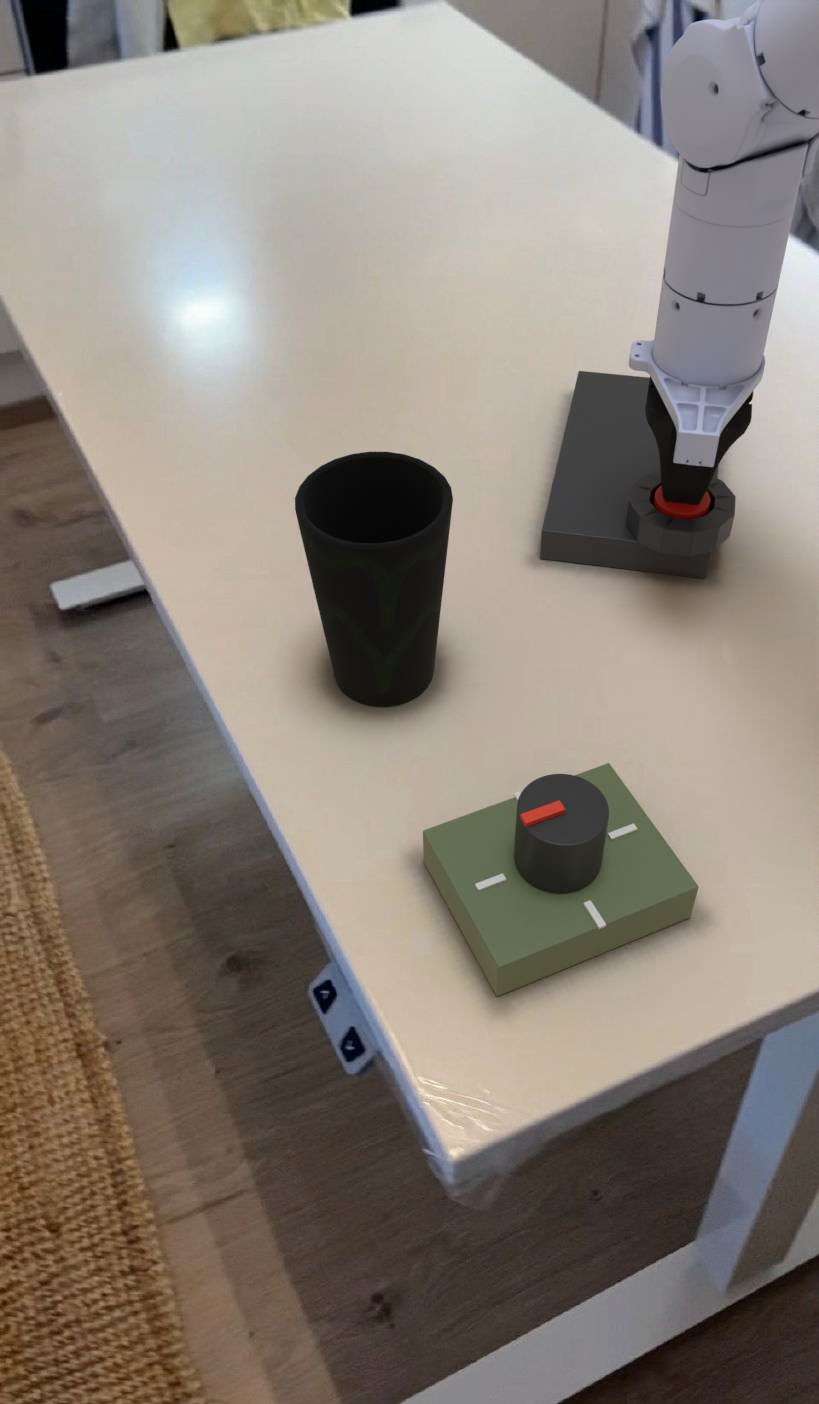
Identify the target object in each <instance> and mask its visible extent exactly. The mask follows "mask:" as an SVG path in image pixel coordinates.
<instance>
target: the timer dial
mask: <svg viewBox="0 0 819 1404" xmlns="http://www.w3.org/2000/svg"><path fill="white" fill-rule="evenodd" d="M574 775H575V774H570V773H569V774H568V773H552V774H546V775H543V776H540V777H538V778H536V779H534V780H532V781H530V783H529V784H527V785H526V786H525V787H524V788H523V789H522V791H521V794H520V796H519V799H518V802H517V813H516V828H515V843H514V861H515V864H516V867H517V869H518V871H519V872H520V874H521V875H522V876H523V878H524V879H525V880H526V881H528V882H529V883H530V884H532V885H533V886H535V887H537V888H539V889H541V890H544V891H548V892H553V893H569V892H574V891H577V890H580V889H582V888H584V887H585V886H587V885H588V884H590V883H591V882H592V881H593V880H594V879H595V878H596V876H597V875H598V873H599V871H600V868H601V865H602V858H603V852H604V846H605V839H606V833H607V827H608V820H609V806H608V803H607V800H606V798H605V797H604V795H603V794H602V792H601V791H600V790H599V789H598V788H597V787H596V786H595V785H593V784H592V783H591V782H589V781H587V780H585V779H583V778H581V777H578V776H574Z"/></svg>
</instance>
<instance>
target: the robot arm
mask: <svg viewBox="0 0 819 1404" xmlns="http://www.w3.org/2000/svg"><path fill="white" fill-rule="evenodd" d="M660 83H661V84H660V107H661V114H662V119H663V123H664V127H665V129H666V132H667V136H668V137H669V140H670V142H671V143H672V145H673V148H675V150H676V152H677V153H678V163H677V170H676V177H675V185H674V194H673V198H672V199H673V200H672V206H671V213H670V220H669V227H668V235H667V243H666V249H665V257H664V264H663V272H662V278H661V279H662V280H661V287H660V294H659V302H658V309H657V316H656V324H655V328H654V337H653V340H642V339H641V340H635V341H633V342H632V343H631V346H630V352H629V358H628V367H629V368H630V369H631V370H633V371H637V372H645V373H647V374H648V375H649V378H650V380H649V387H648V393H647V399H646V406H645V414H646V418H647V422H648V424H649V426H650V428H651V430H652V432H653V434H654V436H655V439H656V442H657V446H658V450H659V457H660V472H661V487H662V494H663V498H664V501H666V502H674V503H683V504H692V505H698V504H699V503H700V502H701V500H702V498H703V497H704V495H705V493H706V491H707V489H708V487H709V485H710V482H711V480H712V478H713V476H714V473H715V471H716V469H717V467H718V468H719V466H718V465H720V463H721V462H722V459H723V458H724V456H725V455H726V453H727V452H728V451H729V449H730V448H731V447H732V446H733V445H734V444H735V442H736V441H737V440H739V439H740V438H741V437H742V436H743V435H744V434H745V433H746V431H747V430H748V428H749V426H750V425H751V422H752V417H753V404H752V403H751V402H752V401H753V398H754V391H755V390H756V388H757V387H758V385H759V384H760V383H761V381H762V379H763V377H764V371H765V366H766V357H765V355H764V353H765V349H766V345H767V339H768V335H769V330H770V326H771V321H772V315H773V311H774V307H775V301H776V297H777V293H778V289H779V288H778V287H779V282H780V278H781V273H782V268H783V265H784V259H785V254H786V251H787V246H788V242H789V241H788V240H789V237H790V232H791V226H792V223H793V217H794V212H795V208H796V204H797V199H798V193H799V190H800V184H801V183H802V181H803V180H805V178H806V177H807V175H808V174H811V173H812V172H813V166H814V162H815V158H816V154H817V150H818V148H819V0H755V1H753V2H752V3H751V4H750V5H749V6H748V7H747V8H746V10H744V12H743V14H742V15H741V16H737V17H732V18H729V19H725V20H723V19H719V18H717V19H716V18H709V19H703V20H699V21H695V22H692V23H690V24H689V25H688V26H687V28H685V30H684V33H683V34H682V36H681V37H680V38H678V40H677V41H676V42H675V43H674V45H673V46H672V48H671V50H670V52H669V53H668V56H667V58H666V61H665V64H664V67H663V71H662V75H661V81H660Z"/></svg>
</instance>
